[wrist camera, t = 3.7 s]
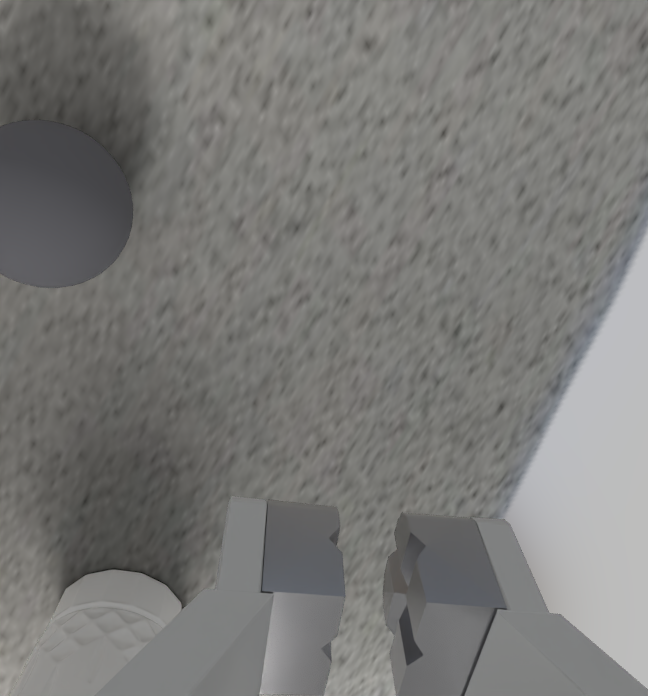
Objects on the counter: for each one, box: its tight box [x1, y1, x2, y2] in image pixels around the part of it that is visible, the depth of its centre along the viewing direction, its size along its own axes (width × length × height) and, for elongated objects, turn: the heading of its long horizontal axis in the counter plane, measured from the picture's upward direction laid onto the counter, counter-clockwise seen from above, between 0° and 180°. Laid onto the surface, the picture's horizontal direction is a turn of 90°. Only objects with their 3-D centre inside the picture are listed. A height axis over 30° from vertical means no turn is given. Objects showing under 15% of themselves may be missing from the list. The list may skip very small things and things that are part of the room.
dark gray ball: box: [0, 120, 133, 288], centre depth 21 cm, size 6×6×6 cm
